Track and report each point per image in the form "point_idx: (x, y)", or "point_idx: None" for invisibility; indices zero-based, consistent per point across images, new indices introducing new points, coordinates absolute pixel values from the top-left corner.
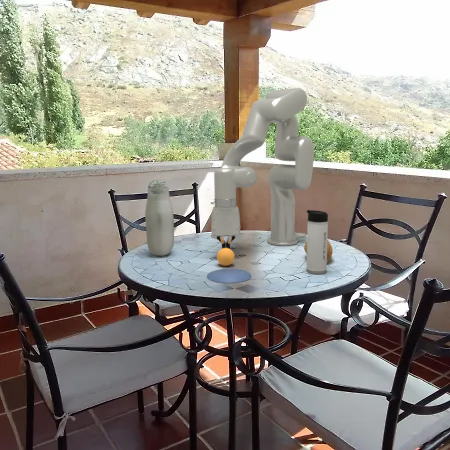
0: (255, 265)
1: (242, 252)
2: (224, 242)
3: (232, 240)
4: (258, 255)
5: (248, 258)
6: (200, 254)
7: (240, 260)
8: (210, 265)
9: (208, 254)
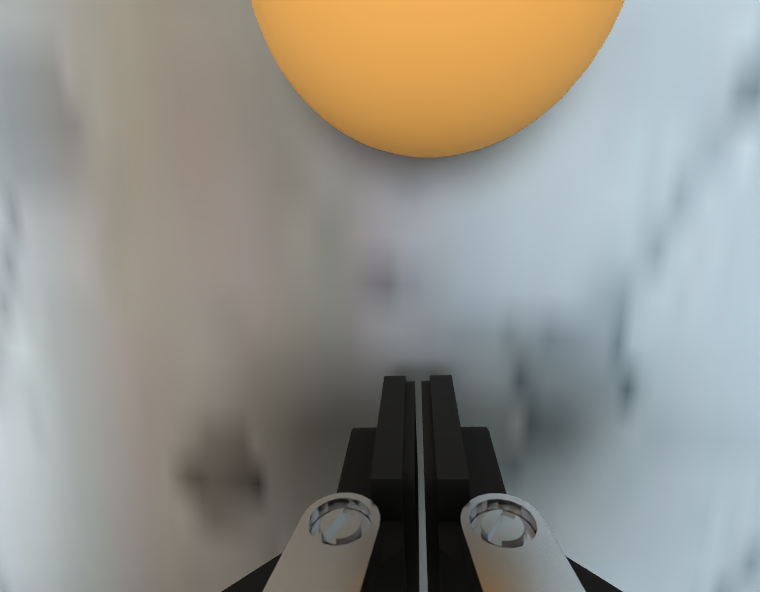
0: (5, 12)
1: None
2: (456, 540)
3: (260, 575)
4: (42, 463)
5: (140, 353)
6: (738, 560)
7: (231, 272)
8: (668, 25)
9: (635, 551)
